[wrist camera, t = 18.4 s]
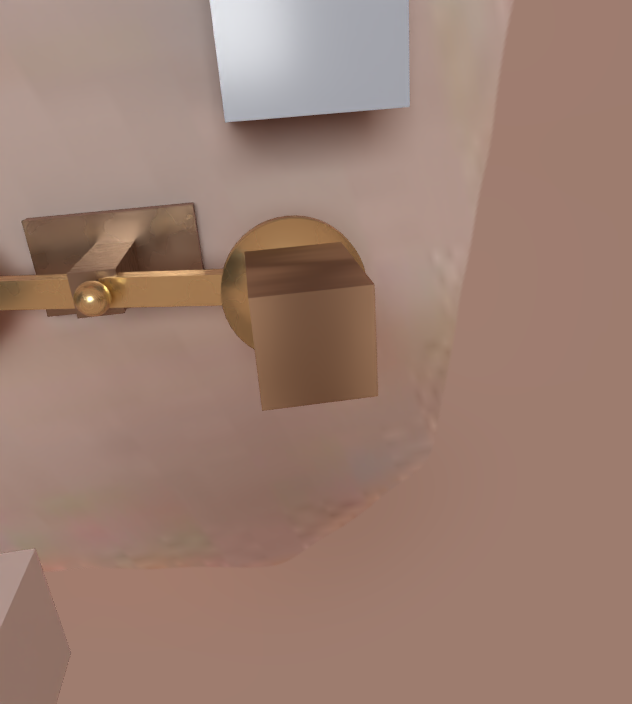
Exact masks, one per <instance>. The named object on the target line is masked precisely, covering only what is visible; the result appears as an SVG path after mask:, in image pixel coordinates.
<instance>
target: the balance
mask: <svg viewBox="0 0 632 704" xmlns="http://www.w3.org/2000/svg"><path fill="white" fill-rule="evenodd" d="M22 225H23V228H24V232H25V236H26V239H27V243H28V247H29V250H30V254H31V258H32V261H33V265H34V269H35V272H36V275H24V276H0V310H34V309H46V312H47V316H48V317H50V316H59V315H68V314H77V318H86V317H94V316H103V315H112V314H121V313H125V311H126V309H127V308H131V307H171V306H217V305H222V306H223V310H224V313H225V316H226V318H227V320H228V322H229V324H230V326H231V328H232V329H233V330H234V332H235V333H236V334H237V335H238V337H239V338H240V339H241V340H242V341H243V342H245V343H246V344H247V345H248V346H250V347H251V348H253V349H254V341H253V333H252V325H251V317H250V309H249V301H248V290H247V278H246V266H245V255H244V252H246V251H256V250H266V249H275V248H285V247H295V246H305V245H315V244H324V243H334V242H341V243H342V244H343V245H344V246H345V248H346V249H347V250H348V252H349V253H350V254H351V255H352V257H353V258H354V259H355V260H356V262H357V263H358V264H359V266H360V267H361V268H362V269H363V271H364V272H365V269H364V266H363V263H362V261H361V258H360V256H359V255H358V253H357V251H356V250H355V248H354V247H353V246H352V244H351V243H350V242H349V241H348V239H347V238H346V237H345V236H344V235H343V234H342V233H341V232H339V231H338V230H337V229H335V228H334V227H332V226H331V225H329V224H327V223H325V222H323V221H320V220H318V219H315V218H311V217H306V216H297V215H296V216H283V217H277V218H274V219H270V220H267V221H265V222H263V223H261V224H259V225H257V226H255V227H254V228H252V229H251V230H249V231H248V232H247V233H246V234H245V235H243V236H242V237H241V239H240V240H239V241H238V242H237V243H236V244H235V246H234V247H233V249H232V250H231V252H230V254H229V256H228V258H227V260H226V262H225V265H224V268H223V269H210V270H204V268H203V262H202V255H201V249H200V242H199V236H198V229H197V223H196V217H195V210H194V204H193V203H182V204H172V205H161V206H151V207H140V208H130V209H119V210H109V211H99V212H88V213H78V214H67V215H57V216H46V217H36V218H27V219H25V220H23V221H22ZM254 350H255V349H254Z"/></svg>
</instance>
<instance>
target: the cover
mask: <svg viewBox="0 0 632 704" xmlns="http://www.w3.org/2000/svg"><path fill="white" fill-rule="evenodd" d="M210 6H211V14H212V22H213V30H214V38H215V46H216V54H217V62H218V69H219V77H220V85H221V93H222V101H223V109H224V117H225V122H236V121H248V120H260V119H271V118H283V117H295V116H307V115H319V114H331V113H343V112H355V111H367V110H379V109H391V108H403V107H410V87H409V0H210Z"/></svg>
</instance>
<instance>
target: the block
mask: <svg viewBox="0 0 632 704" xmlns="http://www.w3.org/2000/svg"><path fill="white" fill-rule="evenodd" d="M244 255H245V266H246V278H247V290H248V301H249V309H250V317H251V325H252V333H253V341H254V349H255V357H256V365H257V373H258V381H259V389H260V397H261V405H262V411H265V410H273V409H280V408H288V407H296V406H304V405H312V404H320V403H327V402H335V401H343V400H351V399H359V398H367V397H374V396H378V380H377V349H376V319H375V288H374V283H373V282H372V281H371V280H370V278H369V277H368V276H367V275H366V273H365V272H364V271H363V269H362V268H361V267H360V266H359V264H358V263H357V262H356V260H355V259H354V258H353V257H352V255H351V254H350V253H349V252H348V250H347V249H346V248H345V246H344V245H343V244H342V243H341V242H334V243H324V244H315V245H305V246H295V247H285V248H275V249H266V250H256V251H246V252H244Z"/></svg>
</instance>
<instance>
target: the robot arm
mask: <svg viewBox="0 0 632 704" xmlns="http://www.w3.org/2000/svg"><path fill="white" fill-rule="evenodd" d="M70 655H71V651H70V648H69V645H68V642H67V639H66V637H65V634H64V631H63V628H62V625H61V622H60V619H59V616H58V613H57V610H56V607H55V604H54V601H53V599H52V596H51V593H50V590H49V587H48V584H47V581H46V578H45V575H44V572H43V569H42V566H41V563H40V560H39V558H38V555H37V552H36V549H35V548H34V549H27V550H20V551H14V552H7V553H0V704H56V703H57V699H58V696H59V693H60V689H61V686H62V682H63V679H64V675H65V672H66V669H67V665H68V662H69V658H70Z"/></svg>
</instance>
